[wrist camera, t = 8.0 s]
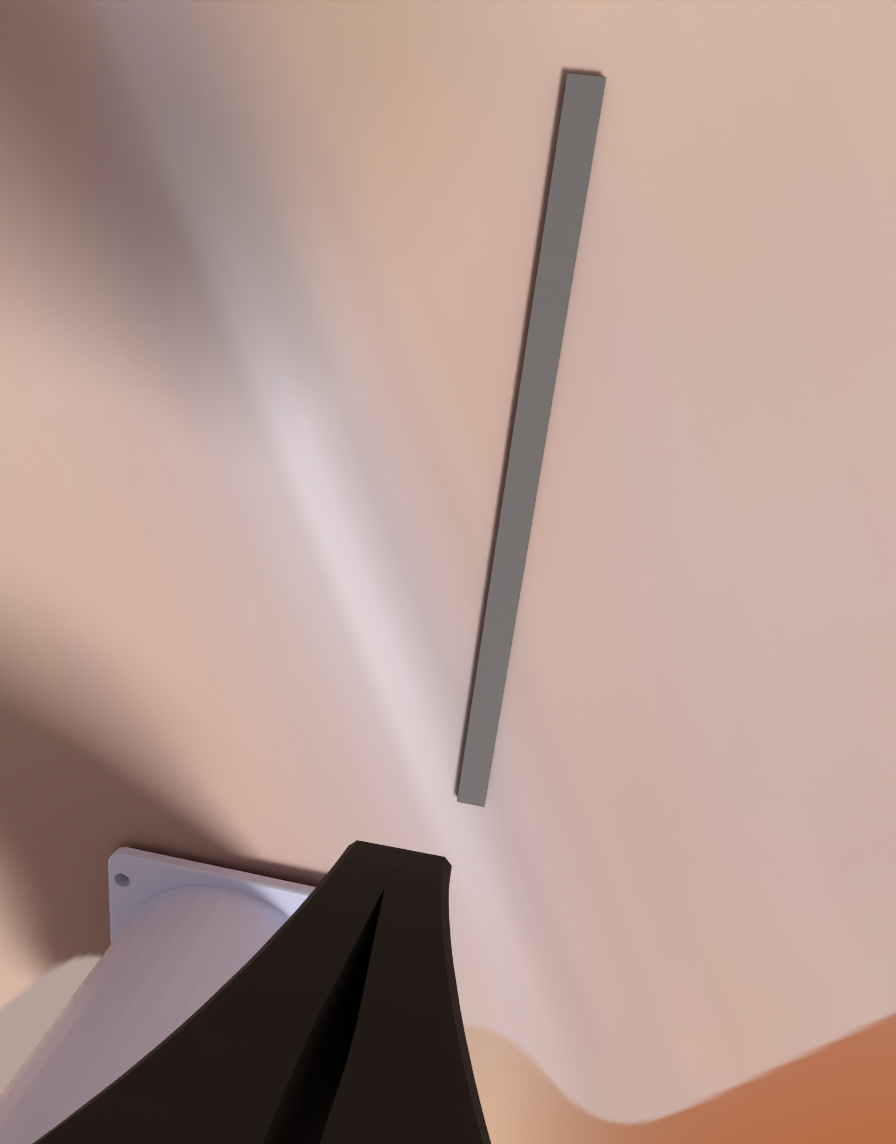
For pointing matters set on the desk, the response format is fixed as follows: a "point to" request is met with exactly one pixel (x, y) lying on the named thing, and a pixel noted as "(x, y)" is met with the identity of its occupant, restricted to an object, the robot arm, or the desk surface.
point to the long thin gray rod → (531, 419)
